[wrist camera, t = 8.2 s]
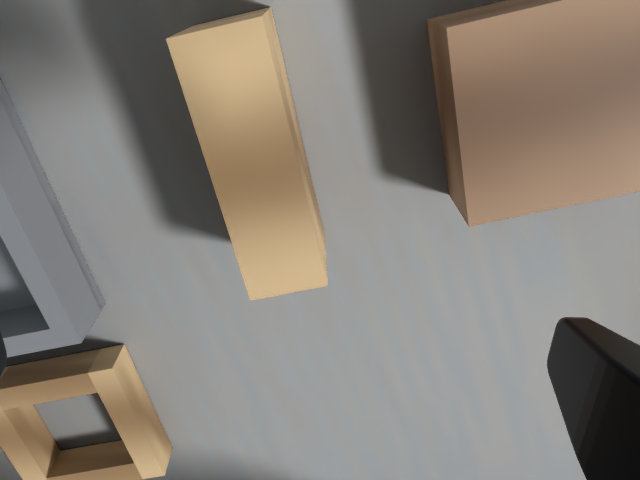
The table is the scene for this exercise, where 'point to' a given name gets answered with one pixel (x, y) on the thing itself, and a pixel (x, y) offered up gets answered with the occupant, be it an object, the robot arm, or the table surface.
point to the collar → (70, 381)
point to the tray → (37, 253)
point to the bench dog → (253, 150)
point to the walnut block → (538, 104)
